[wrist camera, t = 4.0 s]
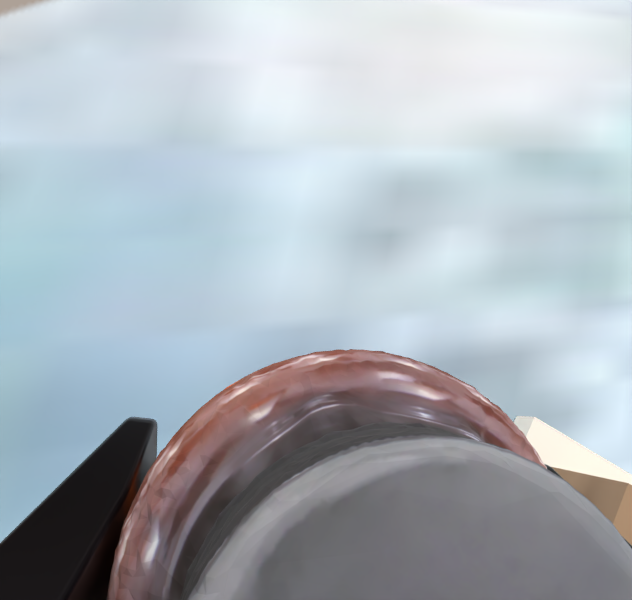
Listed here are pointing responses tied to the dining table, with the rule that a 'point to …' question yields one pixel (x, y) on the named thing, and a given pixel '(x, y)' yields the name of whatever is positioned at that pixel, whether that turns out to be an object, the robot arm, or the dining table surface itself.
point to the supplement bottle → (360, 497)
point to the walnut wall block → (605, 498)
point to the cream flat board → (567, 451)
